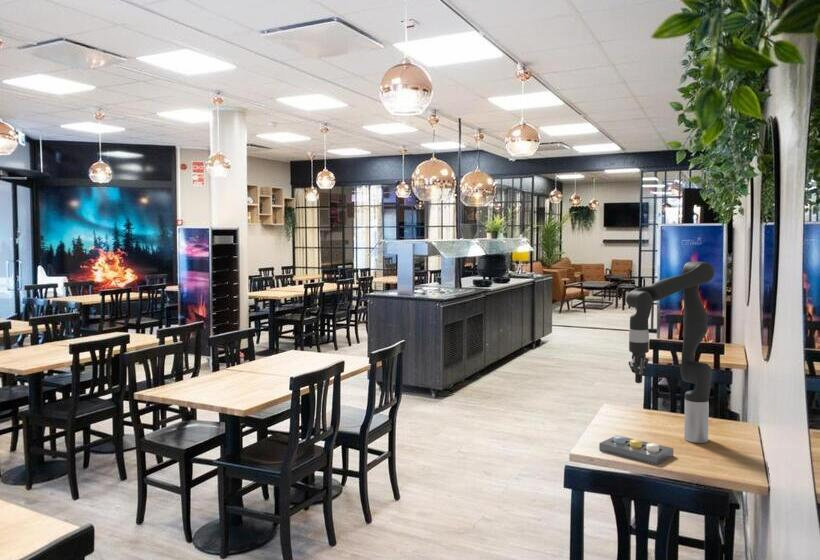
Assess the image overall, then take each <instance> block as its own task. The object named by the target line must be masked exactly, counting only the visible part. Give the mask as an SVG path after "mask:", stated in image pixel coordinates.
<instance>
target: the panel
mask: <svg viewBox="0 0 820 560" xmlns="http://www.w3.org/2000/svg"><path fill="white" fill-rule="evenodd" d="M615 436H619V435H615ZM624 437H625V438H626V443H625V444H623V445H621V444H617V443H614V436H611V437H609V438H608V439H605V440H603V441H601V442H599V445H598V446H599V451H601V452H604V453H608V454H611V455H612V454H613V455H616V456H621V457H625V458H628V457H629V458H628V459H632V458H633V459H632V460H636V459H637V460H636V461H640V460H641V462H644V461H646V462H645V463H647V462H649V463H648V464H651V463H653V465H655V464H656V466H658V465H660V464H661V463H663V462H665V461H666V460H669V459H670V458H672V457H673V456H674V447H669V446H665V445H661V444H658V445H659V452H657V453H654V452H650V451H646V450H647V444H648V443H649V442H648V441H644V440H641V441H642V448H640V449H638V448H633V447H630V440H632V439H633V438H631V437H628V436H627V437H626V436H624Z"/></svg>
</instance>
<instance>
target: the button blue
mask: <svg viewBox="0 0 820 560" xmlns="http://www.w3.org/2000/svg"><path fill="white" fill-rule="evenodd" d="M613 437H614V443H617V444H621V445H623V444H625V443H626V438H625V437H626V436H624V435H618V436H616V435H614V436H613Z"/></svg>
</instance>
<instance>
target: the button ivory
mask: <svg viewBox="0 0 820 560" xmlns="http://www.w3.org/2000/svg"><path fill="white" fill-rule="evenodd" d="M659 445H660V444H658V443H654V442H653V443H652V442H648V444H647V450H646V451H650V452H654V453H657V452H659Z"/></svg>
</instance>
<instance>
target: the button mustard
mask: <svg viewBox="0 0 820 560" xmlns="http://www.w3.org/2000/svg"><path fill="white" fill-rule="evenodd" d="M631 439H632V440H630V447H633V448H638V449H640V448H642V441H643V440H640V439H634V438H631Z"/></svg>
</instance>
